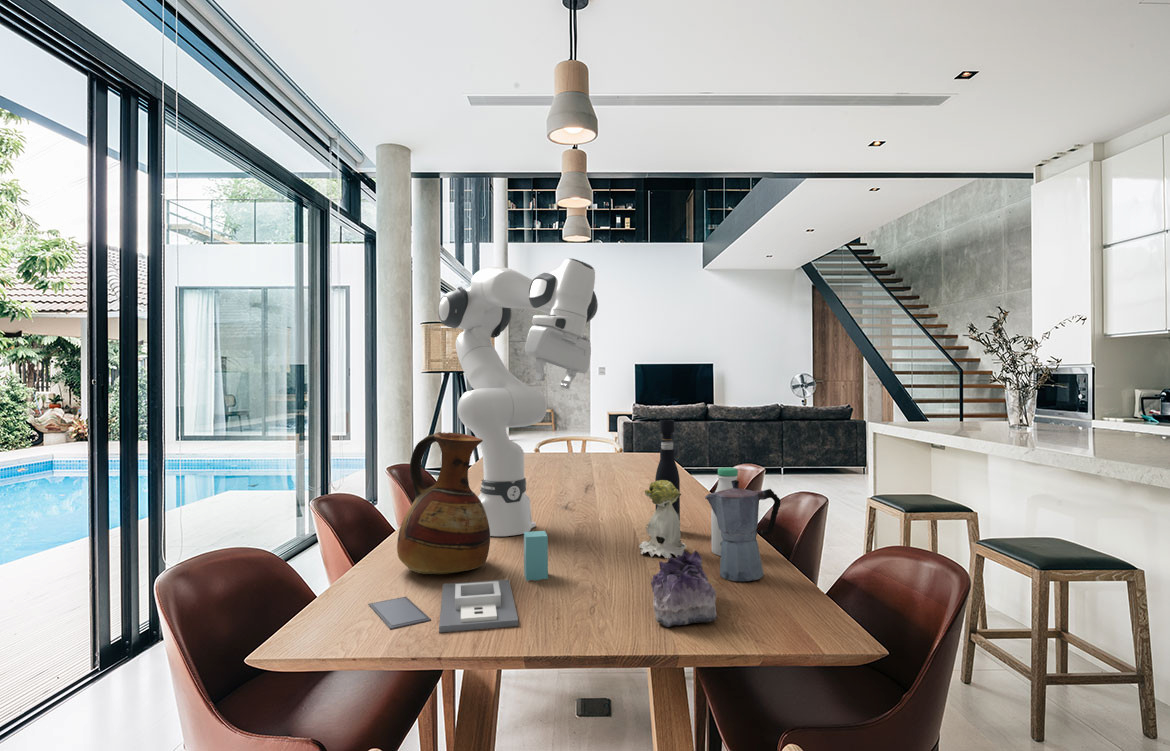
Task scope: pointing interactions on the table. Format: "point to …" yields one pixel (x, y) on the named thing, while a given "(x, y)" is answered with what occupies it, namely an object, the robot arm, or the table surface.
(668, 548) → the green-topped white figurine
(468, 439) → the ceramic pitcher
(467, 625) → the grey socket base board
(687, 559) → the geode
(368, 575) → the table surface
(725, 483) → the milk bottle
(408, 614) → the phone
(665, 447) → the wine bottle
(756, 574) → the moka pot
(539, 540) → the teal box with slot
